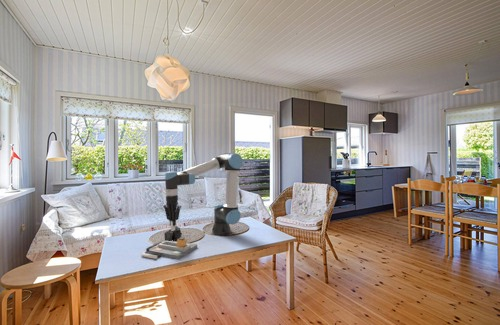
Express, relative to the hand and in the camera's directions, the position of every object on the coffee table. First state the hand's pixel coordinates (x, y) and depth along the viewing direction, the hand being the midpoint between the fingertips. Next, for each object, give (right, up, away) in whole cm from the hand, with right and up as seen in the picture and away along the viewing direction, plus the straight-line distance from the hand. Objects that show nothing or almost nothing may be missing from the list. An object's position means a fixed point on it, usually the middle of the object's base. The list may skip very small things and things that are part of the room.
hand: (173, 230), depth 159 cm
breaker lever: (+7, -11, -3) cm, 13 cm away
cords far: (-10, -13, -11) cm, 20 cm away
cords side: (-13, -13, +4) cm, 19 cm away
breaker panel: (+1, -13, -1) cm, 13 cm away
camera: (-6, -13, +20) cm, 24 cm away
